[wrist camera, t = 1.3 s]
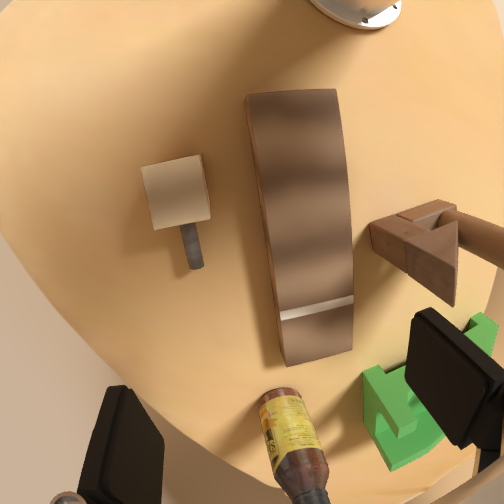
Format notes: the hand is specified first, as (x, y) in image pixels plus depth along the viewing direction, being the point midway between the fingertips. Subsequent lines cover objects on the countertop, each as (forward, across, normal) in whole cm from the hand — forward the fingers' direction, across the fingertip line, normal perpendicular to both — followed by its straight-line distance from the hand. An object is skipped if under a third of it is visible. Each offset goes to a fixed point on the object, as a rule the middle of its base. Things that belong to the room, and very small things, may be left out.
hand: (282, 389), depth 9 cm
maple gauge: (+22, +4, -2) cm, 23 cm away
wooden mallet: (+22, -20, +4) cm, 30 cm away
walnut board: (+22, -7, +3) cm, 23 cm away
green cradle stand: (+23, -26, +30) cm, 46 cm away
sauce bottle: (+22, -1, +25) cm, 34 cm away
